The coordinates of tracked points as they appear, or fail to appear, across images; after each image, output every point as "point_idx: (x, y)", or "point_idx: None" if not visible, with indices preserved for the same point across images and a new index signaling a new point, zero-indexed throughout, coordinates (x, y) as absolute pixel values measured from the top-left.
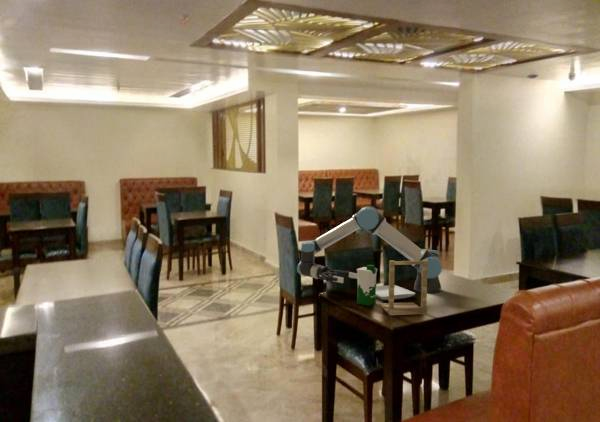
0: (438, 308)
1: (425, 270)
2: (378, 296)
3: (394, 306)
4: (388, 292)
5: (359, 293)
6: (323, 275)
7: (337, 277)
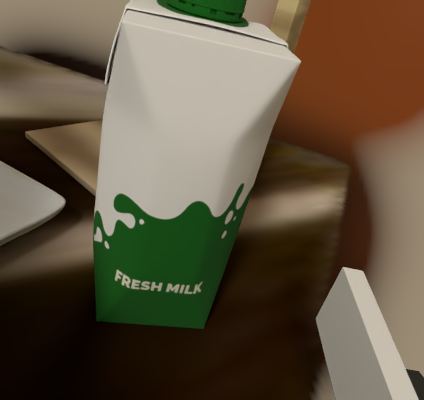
0: (60, 96)
1: None
2: (31, 227)
3: None
4: None
5: (231, 248)
6: None
7: (393, 357)
